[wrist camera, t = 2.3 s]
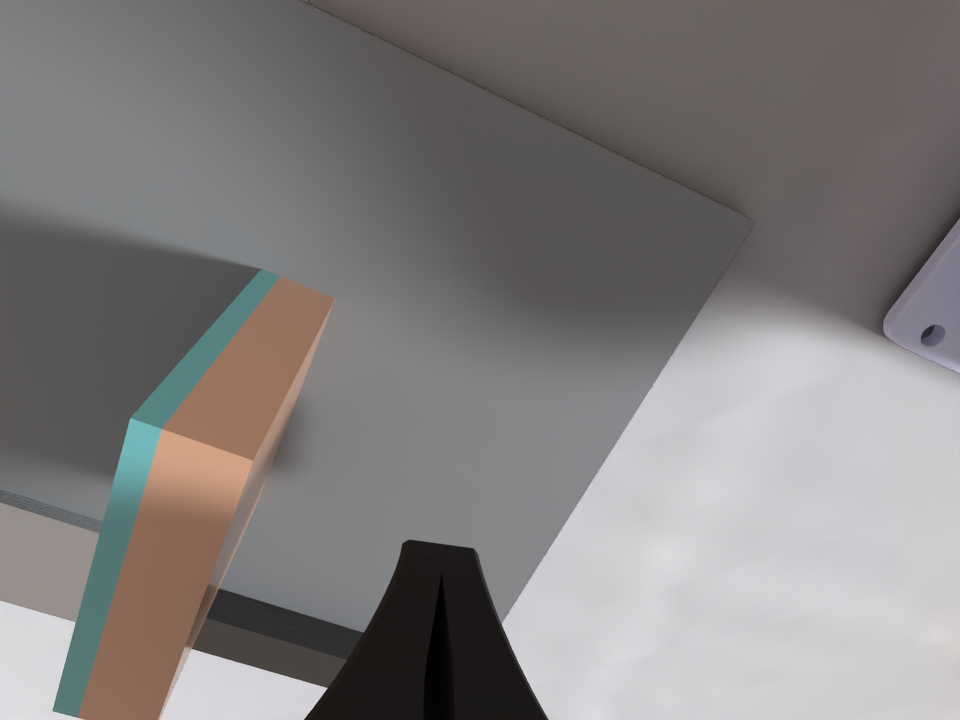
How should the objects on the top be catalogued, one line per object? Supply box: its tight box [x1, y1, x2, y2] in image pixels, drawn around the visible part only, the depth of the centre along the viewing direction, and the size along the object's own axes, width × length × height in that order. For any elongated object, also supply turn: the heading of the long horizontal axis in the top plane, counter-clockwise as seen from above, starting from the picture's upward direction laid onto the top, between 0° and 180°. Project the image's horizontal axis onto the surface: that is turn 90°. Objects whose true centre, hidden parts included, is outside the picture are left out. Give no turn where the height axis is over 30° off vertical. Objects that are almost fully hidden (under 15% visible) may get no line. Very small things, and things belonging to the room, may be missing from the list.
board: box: [0, 0, 755, 632], centre depth 15 cm, size 18×16×1 cm
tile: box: [53, 269, 335, 720], centre depth 13 cm, size 2×6×6 cm, turn 155°
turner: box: [0, 489, 364, 688], centre depth 17 cm, size 13×3×1 cm, turn 66°
